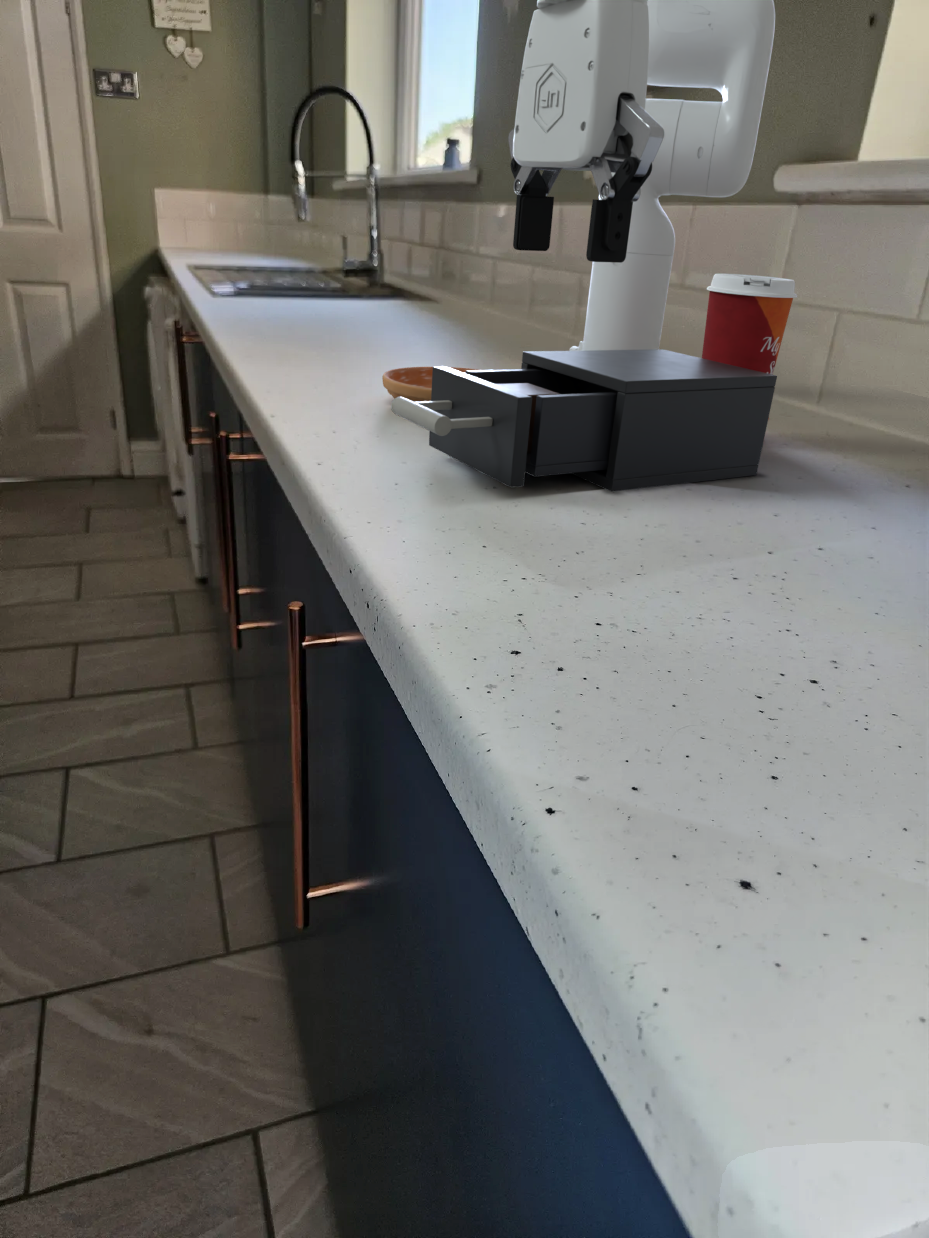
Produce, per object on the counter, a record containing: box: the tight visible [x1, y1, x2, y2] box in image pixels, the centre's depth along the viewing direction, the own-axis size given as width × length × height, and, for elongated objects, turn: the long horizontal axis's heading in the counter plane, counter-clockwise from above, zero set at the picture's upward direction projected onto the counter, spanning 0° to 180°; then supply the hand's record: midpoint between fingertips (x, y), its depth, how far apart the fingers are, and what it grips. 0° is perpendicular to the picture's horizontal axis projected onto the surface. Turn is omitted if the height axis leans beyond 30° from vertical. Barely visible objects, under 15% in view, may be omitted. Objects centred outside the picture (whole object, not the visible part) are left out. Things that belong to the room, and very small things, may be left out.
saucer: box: [381, 366, 481, 402], centre depth 92 cm, size 16×16×3 cm
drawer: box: [390, 365, 619, 488], centre depth 68 cm, size 20×13×6 cm, turn 120°
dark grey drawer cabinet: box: [520, 348, 778, 492], centre depth 74 cm, size 16×14×8 cm
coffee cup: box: [701, 273, 798, 375], centre depth 84 cm, size 8×8×15 cm
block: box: [497, 383, 560, 454], centre depth 68 cm, size 4×4×4 cm
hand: (566, 255), depth 67 cm, fingers open, 9 cm apart
